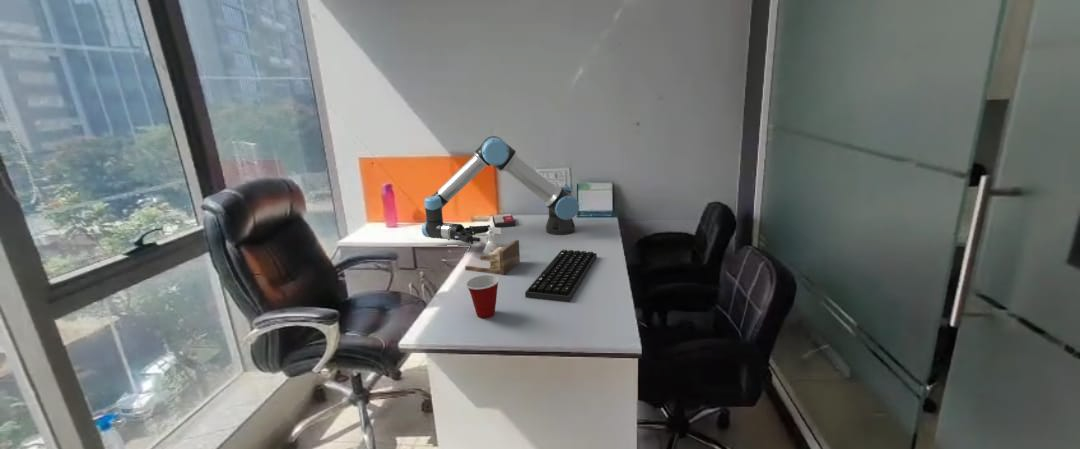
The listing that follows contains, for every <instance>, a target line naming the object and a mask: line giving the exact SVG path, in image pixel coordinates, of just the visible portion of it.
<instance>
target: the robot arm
mask: <svg viewBox="0 0 1080 449" xmlns="http://www.w3.org/2000/svg"><path fill="white" fill-rule="evenodd" d="M490 166H493V167H494V168H496V169H497V170H498V171H500V172H504V171H505V172H506V173H508V175H510V176H511V177H513V178H514V179H516V180H517V181H518V182H519V183H521V184H522V185H523V186H524V187H526V188H527V189H528V190H529V191H531V192H532V193H534V194H535V195H536V196H538V197H539V198H540V199H542V201H544V205H545V207H546V208H547V209H548V218H547V223H546V225H545V232H546V233H548V234H550V235H560V236H561V235H568V234H573V233H574V232H575V231H576V225H575V223H574V220H573V218H574V217H575V216H577V214H578V212H579V210H580V204H579V202H578V199H577V198H575V197H574V196H573V195H572V188H571V186H555V185H554V184H553V183H552V182H550V181H549V180H548V179H547V178H545V177H544V176H543V175H541V174H540V173H539V172H537V170H535V169H533V167H532V166H530V165H529V164H528V163H527V162H525V161H524V160H522V159H521V158H520V157H519V156H518V154H517V151H516V149H514V148H513V147H512V146H510V145H509V144H508V143H506V142H505V140H504V139H502V138H501V137H499V136H495V135H494V136H493V135H491V136H488V137H486V138H485V139H484V140H483V141H482V143H481V144H480V145H479V147H478V148H477V149H476V150H475V151H474V154H473V156H472V157H471V158H470V159H469V160H468V161H467V162H465V164H464V165H462V166H461V167H460V168H459V169H458V170H457V171H456V172H455V173H454V174H453V175H452V176H451V177H450V178H449V179H447V181H446V182H444V184H443V185H442V186H441V187H440V188H438V190H436V192H434V193H433V194H432V195H430V196H427V197H425V198H424V210H425V217H426V219H425V220H426V221H424V222H423V224H422V226H421V233H422V235H423V236H424V237H426V238H429V239H441V240H448V241H450V240H452V241H461V242H463V243H466V244H474V243H481V244H482V243H483V244H486V243H488V238H487V237H486V236H485V235H484V236H483V235H477V234H486V232H487V231H489V230H492V231H493V233H494V234H496V235H497V234H498V235H502V234H503V230H502V229H503V228H495V226H491V224H487V225H477V226H476V225H475V226H474V225H473V226H472V225H469V226H468V227H465V226H464V225H463V224H461V223H451V222H444V217H443V208H444V207H445V206H446V205H447V204H448V203H449V202H450V201H451V200H453V198H454V197H455V196H456V195H457V194H459V192H460V191H461V190H462V189H464V188H465V186H467V185H468V184H469V183H470V182H471V181H472V180H473V179H474V178H476V176H477V175H478V174H479V173H481V171H482V170H484V168H485V167H490Z"/></svg>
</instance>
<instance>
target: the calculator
mask: <svg viewBox="0 0 1080 449" xmlns="http://www.w3.org/2000/svg"><path fill="white" fill-rule="evenodd" d="M492 223H493V227H495V228H502V229H503V228H511V227H512V228H513V227H514V228H515V227H516V221H515V219H514V217H513V214H512V213H506V214H505V213H504V214H494V215H492Z"/></svg>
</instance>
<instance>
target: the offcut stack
mask: <svg viewBox="0 0 1080 449" xmlns="http://www.w3.org/2000/svg"><path fill="white" fill-rule="evenodd" d="M504 247H505V246H503V247H502V246H497V249H496V250H495V251H493V252H492V253H491V254H490V260H489V264H490V265H489V268H490V269H498V270H500V257H499V251H500V250H501V249H503V248H504Z"/></svg>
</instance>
